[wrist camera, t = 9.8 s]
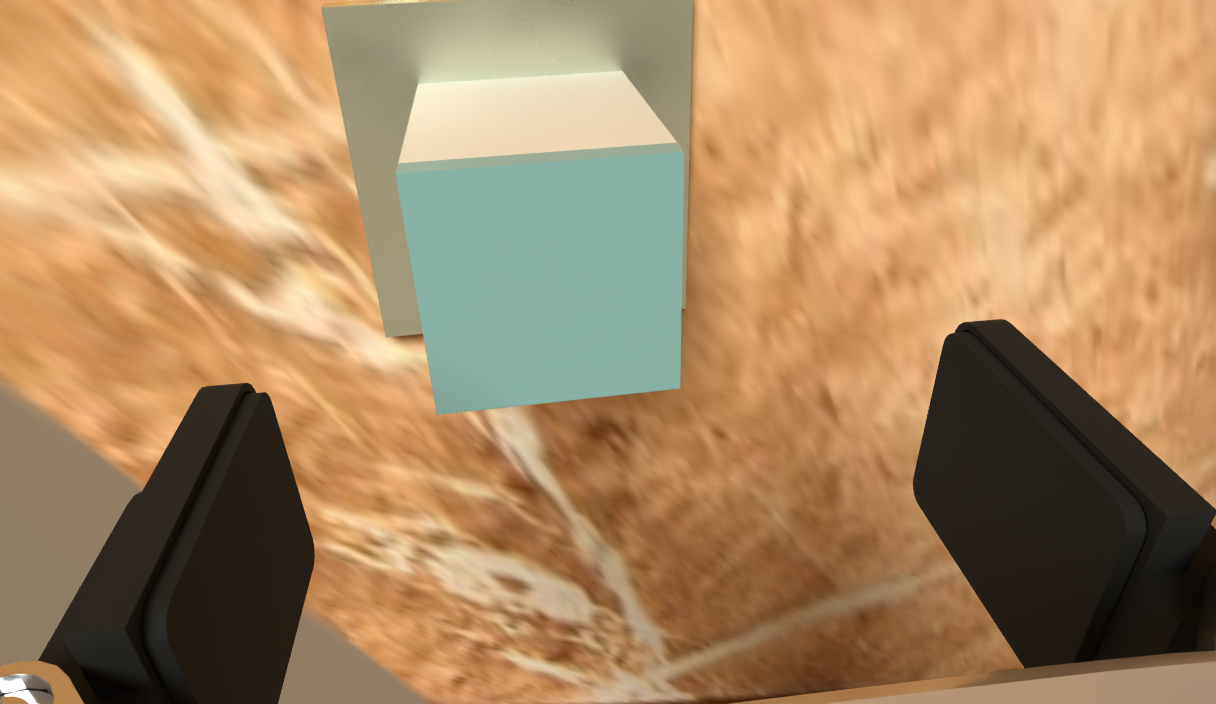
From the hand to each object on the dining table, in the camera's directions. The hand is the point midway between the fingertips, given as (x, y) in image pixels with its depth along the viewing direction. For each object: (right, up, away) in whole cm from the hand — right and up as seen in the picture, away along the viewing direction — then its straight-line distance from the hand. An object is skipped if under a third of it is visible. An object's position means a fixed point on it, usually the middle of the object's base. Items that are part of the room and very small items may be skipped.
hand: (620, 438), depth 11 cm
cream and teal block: (-2, +6, +11) cm, 12 cm away
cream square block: (-2, +6, +11) cm, 13 cm away
